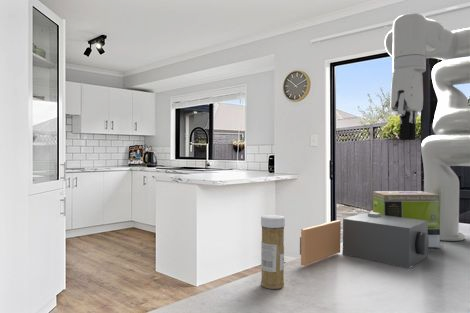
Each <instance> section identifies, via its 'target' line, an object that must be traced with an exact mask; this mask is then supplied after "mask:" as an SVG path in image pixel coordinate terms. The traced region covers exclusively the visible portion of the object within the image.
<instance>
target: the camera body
mask: <svg viewBox="0 0 470 313" xmlns="http://www.w3.org/2000/svg"><path fill="white" fill-rule="evenodd" d="M428 245H429V238H428V221H426V220H418V219H410V218H402V217H394V216H387V215H381V213H375V212H373V211H370V212H364V213H363V212H362V213H360V214H355V215H352V216H348V217H347V216H346V217H344V218H343V219H342V255H345V256H350V257H354V258H359V259H364V260H368V261H374V262H378V263H382V264H387V265H391V266H396V267H401V268H405V269H410V268H412V267H414V266H415V265H416V263H417V262H418V263H419V261H420V262H421V261H423V260H424V259H426V258H427V257H428V250H429V247H428ZM422 259H423V260H422ZM418 263H417V264H418ZM414 264H415V265H414ZM411 266H412V267H411Z"/></svg>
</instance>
